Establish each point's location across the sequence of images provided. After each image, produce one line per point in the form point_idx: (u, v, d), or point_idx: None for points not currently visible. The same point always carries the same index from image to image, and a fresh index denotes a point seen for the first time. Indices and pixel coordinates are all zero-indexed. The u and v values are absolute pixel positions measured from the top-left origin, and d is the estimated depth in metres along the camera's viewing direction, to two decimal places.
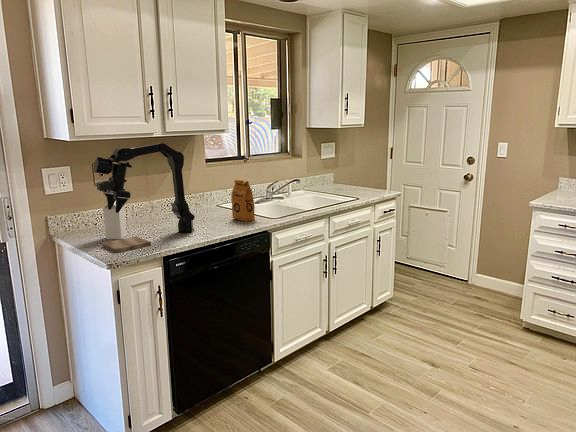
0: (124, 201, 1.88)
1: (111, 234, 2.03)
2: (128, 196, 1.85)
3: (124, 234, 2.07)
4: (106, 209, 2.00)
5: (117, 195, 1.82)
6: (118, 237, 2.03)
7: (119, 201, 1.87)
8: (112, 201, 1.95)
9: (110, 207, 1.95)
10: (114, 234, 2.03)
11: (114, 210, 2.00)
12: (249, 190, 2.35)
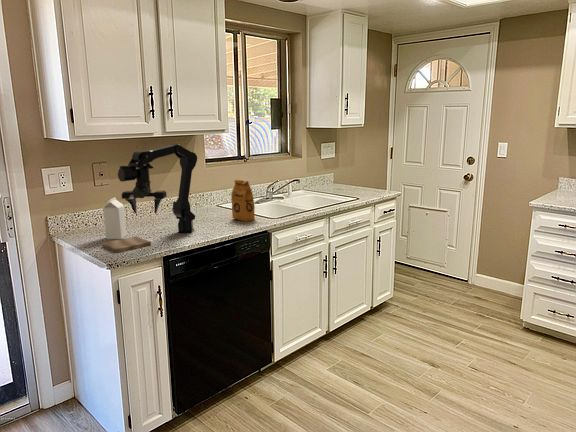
0: (159, 200, 1.98)
1: (111, 234, 2.03)
2: (166, 195, 1.98)
3: (124, 234, 2.07)
4: (106, 209, 2.00)
5: (162, 197, 1.93)
6: (118, 237, 2.03)
7: None
8: (135, 204, 1.98)
9: (136, 210, 1.98)
10: (114, 234, 2.03)
11: (114, 210, 2.00)
12: (249, 190, 2.35)
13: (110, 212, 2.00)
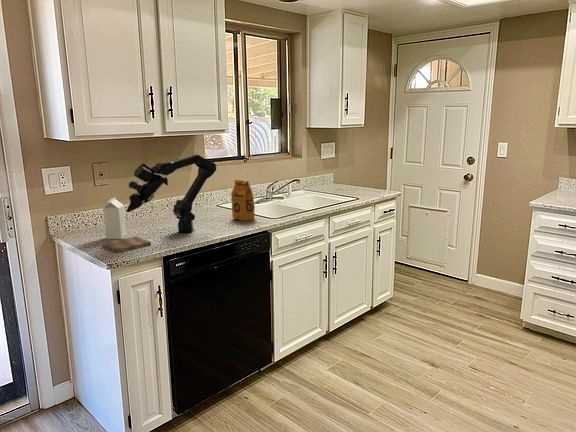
0: (136, 206, 1.97)
1: (111, 234, 2.03)
2: (138, 204, 1.94)
3: (124, 234, 2.07)
4: (106, 209, 2.00)
5: (130, 197, 1.93)
6: (118, 237, 2.03)
7: (133, 204, 1.97)
8: None
9: None
10: (114, 234, 2.03)
11: (114, 210, 2.00)
12: (249, 190, 2.35)
13: (110, 212, 2.00)
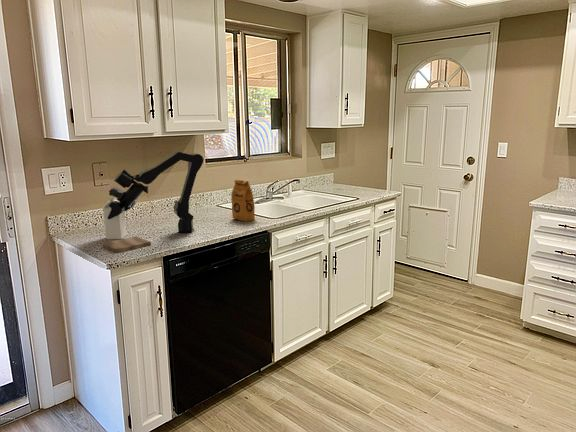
0: (117, 213, 1.98)
1: (111, 234, 2.03)
2: (118, 212, 1.94)
3: (124, 234, 2.07)
4: (106, 209, 2.00)
5: (109, 205, 1.94)
6: (118, 237, 2.03)
7: (114, 211, 1.99)
8: None
9: None
10: (114, 234, 2.03)
11: None
12: (249, 190, 2.35)
13: None
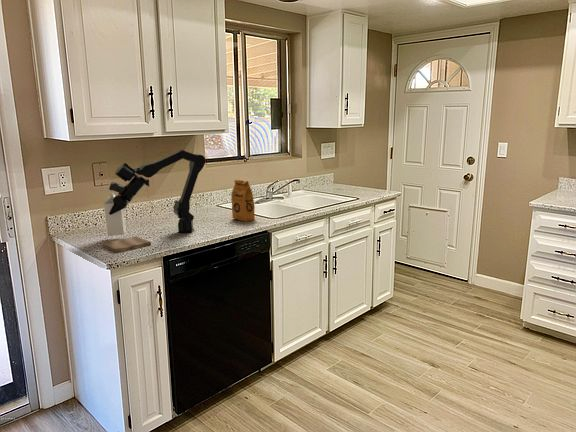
0: (120, 208, 1.95)
1: (113, 230, 1.99)
2: (122, 206, 1.92)
3: (125, 229, 2.04)
4: (107, 205, 1.96)
5: (113, 199, 1.90)
6: (120, 233, 2.00)
7: (116, 206, 1.95)
8: None
9: None
10: (116, 230, 1.99)
11: None
12: (249, 190, 2.35)
13: None
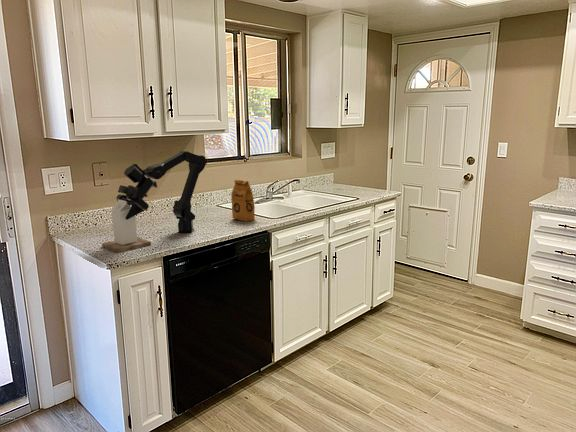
0: (138, 211, 1.88)
1: (127, 238, 1.89)
2: (146, 208, 1.87)
3: None
4: (123, 212, 1.86)
5: (138, 202, 1.84)
6: (134, 240, 1.92)
7: (134, 209, 1.87)
8: None
9: None
10: (130, 237, 1.91)
11: None
12: (249, 190, 2.35)
13: (126, 214, 1.88)
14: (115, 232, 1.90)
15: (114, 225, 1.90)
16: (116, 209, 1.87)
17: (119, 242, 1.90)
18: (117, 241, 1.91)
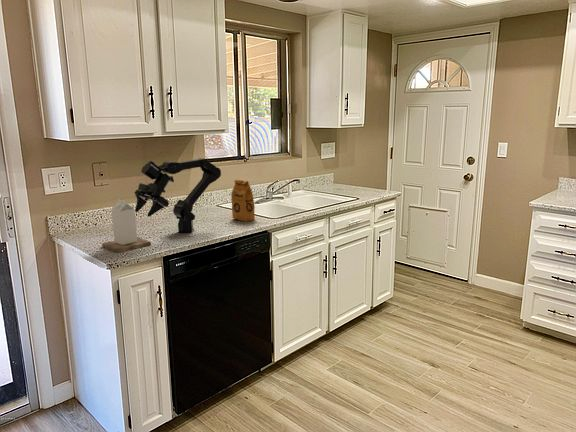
0: (159, 208, 1.97)
1: (127, 238, 1.89)
2: (166, 205, 1.96)
3: None
4: (123, 212, 1.86)
5: (159, 200, 1.92)
6: (134, 240, 1.92)
7: (155, 206, 1.96)
8: (141, 205, 2.02)
9: (137, 210, 2.00)
10: (130, 237, 1.91)
11: (130, 212, 1.89)
12: (249, 190, 2.35)
13: (126, 214, 1.88)
14: (115, 232, 1.90)
15: (114, 225, 1.90)
16: (116, 209, 1.87)
17: (119, 242, 1.90)
18: (117, 241, 1.91)
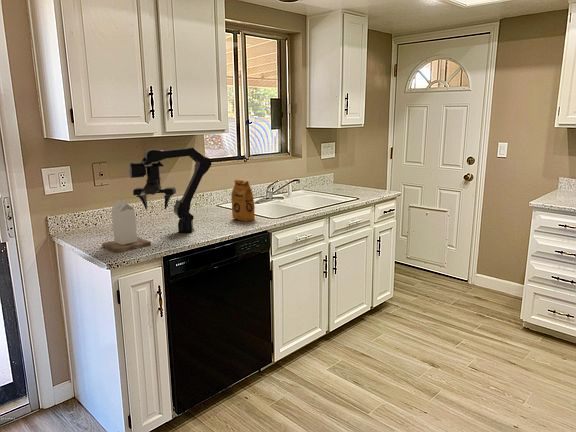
0: (169, 197, 2.07)
1: (127, 238, 1.89)
2: (175, 191, 2.07)
3: None
4: (123, 212, 1.86)
5: (172, 193, 2.02)
6: (134, 240, 1.92)
7: None
8: (146, 201, 2.07)
9: (146, 207, 2.07)
10: (130, 237, 1.91)
11: (130, 212, 1.89)
12: (249, 190, 2.35)
13: (126, 214, 1.88)
14: (115, 232, 1.90)
15: (114, 225, 1.90)
16: (116, 209, 1.87)
17: (119, 242, 1.90)
18: (117, 241, 1.91)
